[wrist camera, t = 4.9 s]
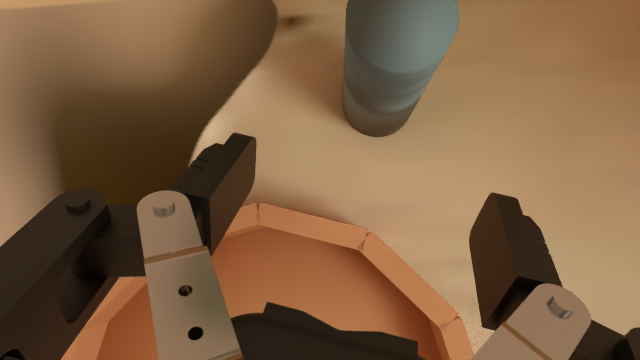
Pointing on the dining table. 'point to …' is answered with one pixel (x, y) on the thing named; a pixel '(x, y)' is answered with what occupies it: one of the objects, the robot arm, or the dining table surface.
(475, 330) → the dining table surface
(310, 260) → the ring tray
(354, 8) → the bead peg
